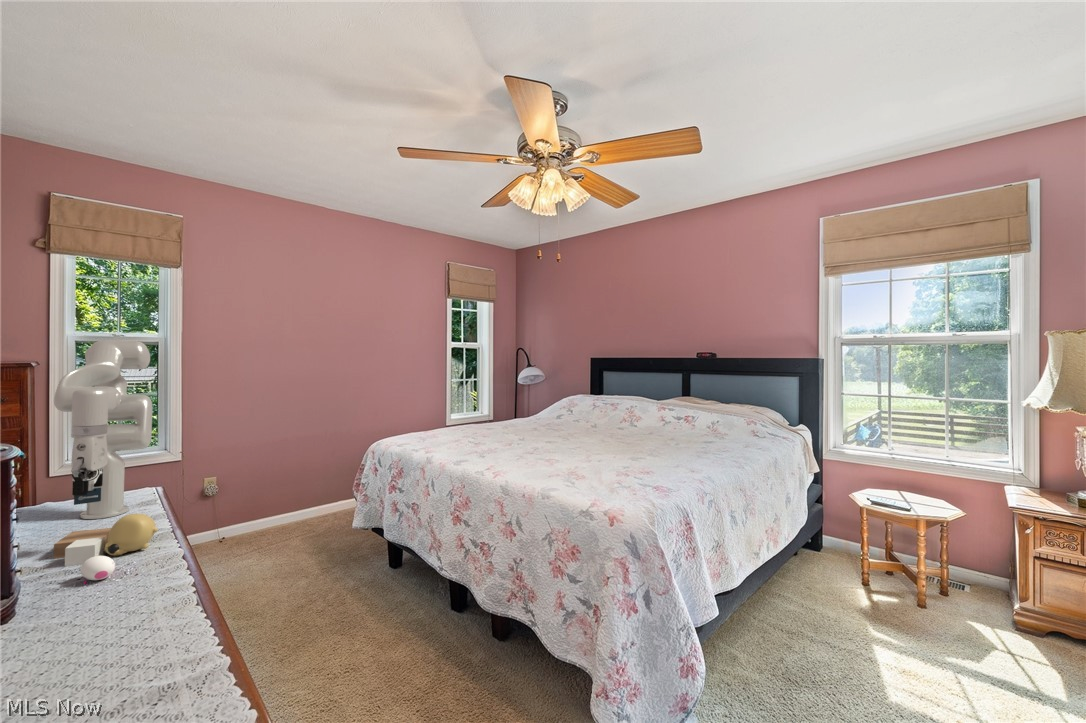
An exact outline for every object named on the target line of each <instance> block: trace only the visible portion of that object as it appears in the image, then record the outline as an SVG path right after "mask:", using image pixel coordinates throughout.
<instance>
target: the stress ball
mask: <svg viewBox="0 0 1086 723" xmlns="http://www.w3.org/2000/svg"><path fill="white" fill-rule="evenodd" d="M115 569H116V563H115V561H114V560H113V558H111V557H109V556H106V555H102V556H94V557H91V558H89V559H87V560H86V561H85V562H84V563H83V564H81V566H80V574H81V576H83V578H85V579H87V580H85V581H84V582H83V584H84V585H86V584H87V581H88V580H89V581H90V580H91V581H99V580H104V579H106V578H109V577H110V576H111V575H112V574H113V573H114V572H115Z"/></svg>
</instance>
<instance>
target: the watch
mask: <svg viewBox="0 0 1086 723" xmlns="http://www.w3.org/2000/svg"><path fill="white" fill-rule="evenodd" d="M80 470H86V469H80ZM82 474H83V476H84V473H82ZM100 474H102V471H100V470H99V469H98V470H96V471H91V470H90V471H89V474H88V478H87V480H89V487H88V494H87V495H76V496H73V506H77V505H83V504H87V503H92V502H99V501H101V487H100V488H93V486H94V484H95V483H96V481H97V479H98V477H99V475H100Z"/></svg>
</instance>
